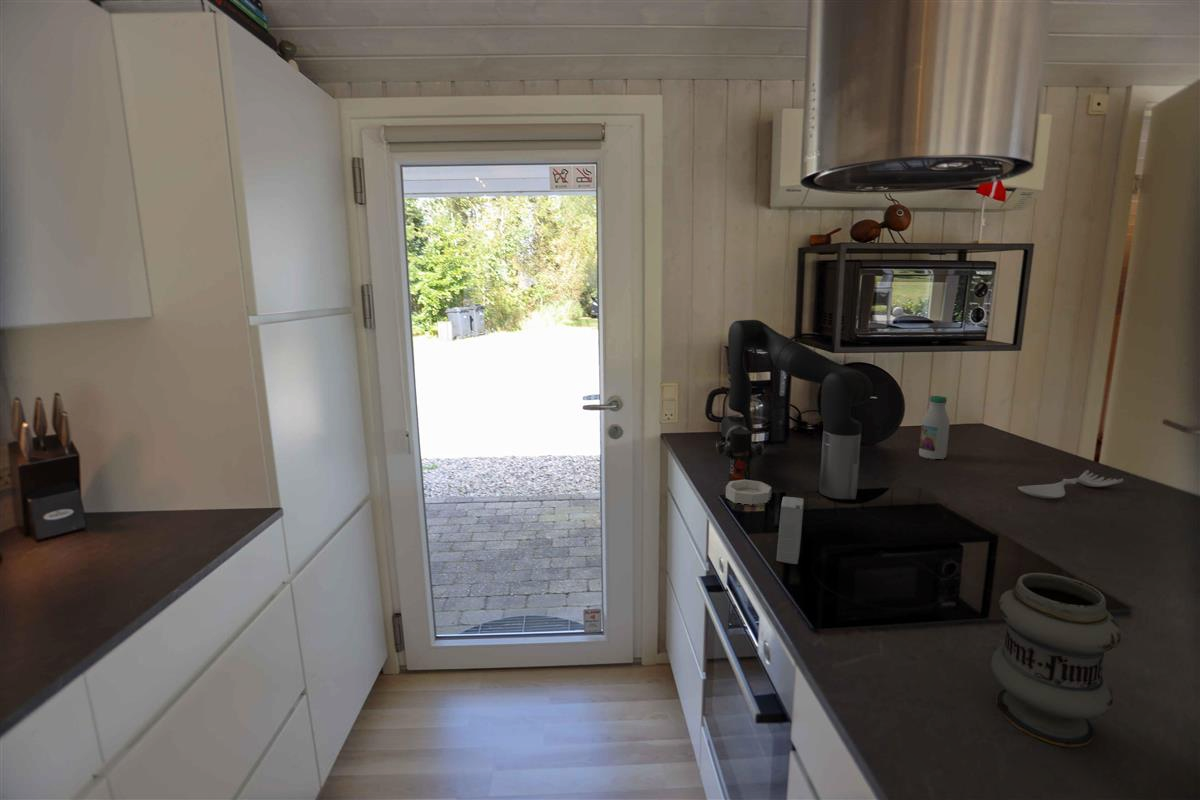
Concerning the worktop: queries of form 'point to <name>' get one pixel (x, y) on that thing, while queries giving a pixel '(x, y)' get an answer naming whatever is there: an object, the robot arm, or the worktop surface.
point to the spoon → (1058, 488)
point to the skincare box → (790, 530)
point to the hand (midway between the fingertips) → (740, 454)
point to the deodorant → (740, 454)
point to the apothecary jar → (1054, 658)
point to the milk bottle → (935, 430)
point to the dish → (748, 492)
